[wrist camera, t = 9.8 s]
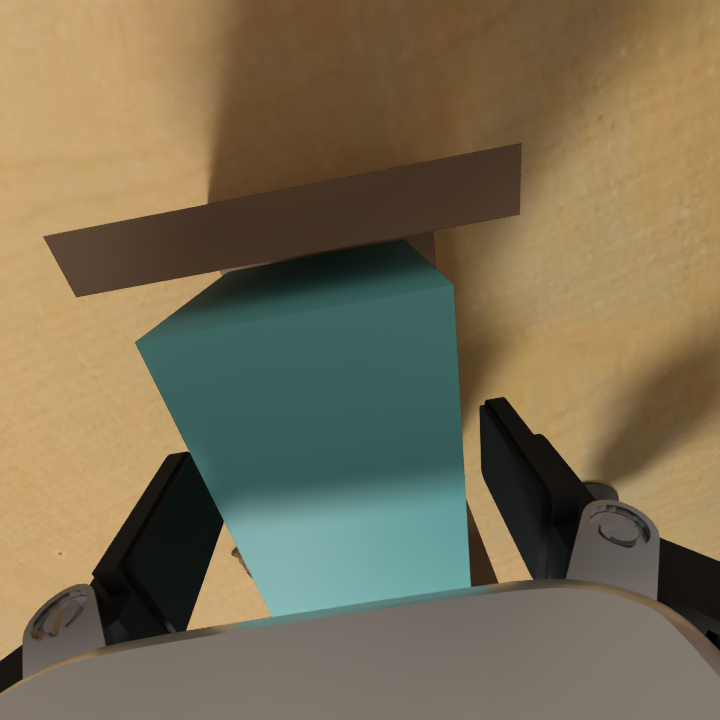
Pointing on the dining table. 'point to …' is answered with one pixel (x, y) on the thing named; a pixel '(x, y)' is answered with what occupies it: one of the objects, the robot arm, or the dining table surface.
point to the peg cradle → (301, 235)
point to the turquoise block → (326, 422)
